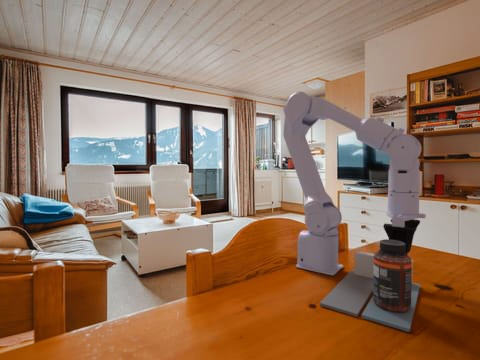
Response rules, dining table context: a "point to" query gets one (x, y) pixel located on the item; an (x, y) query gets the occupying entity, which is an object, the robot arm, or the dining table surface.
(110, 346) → the dining table surface
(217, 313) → the dining table surface
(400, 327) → the strip
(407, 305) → the supplement bottle
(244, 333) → the dining table surface
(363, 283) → the strip empty
